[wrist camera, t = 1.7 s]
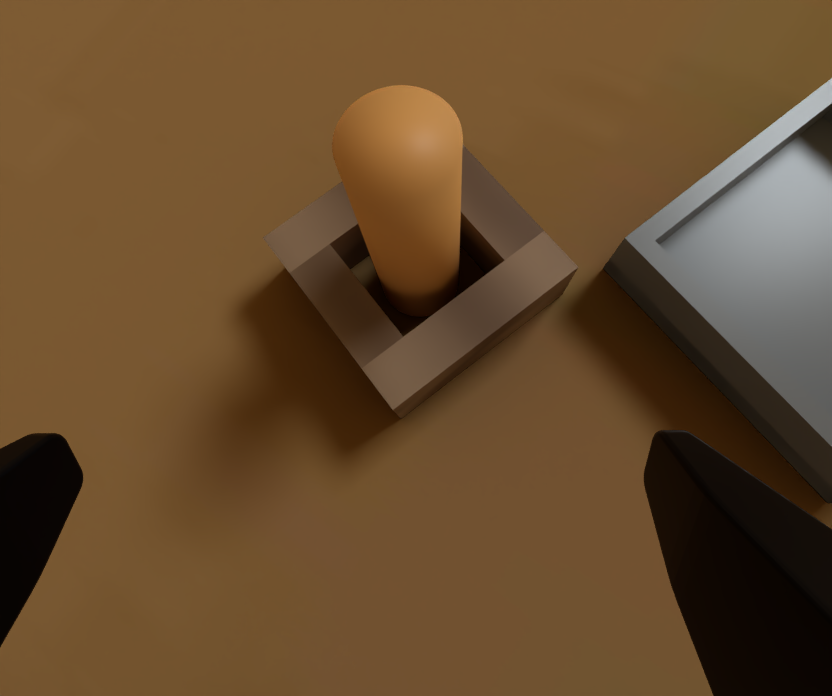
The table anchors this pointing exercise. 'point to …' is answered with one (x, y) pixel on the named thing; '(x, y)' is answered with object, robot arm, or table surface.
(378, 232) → the pin
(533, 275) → the socket block
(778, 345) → the tray
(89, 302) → the table surface
